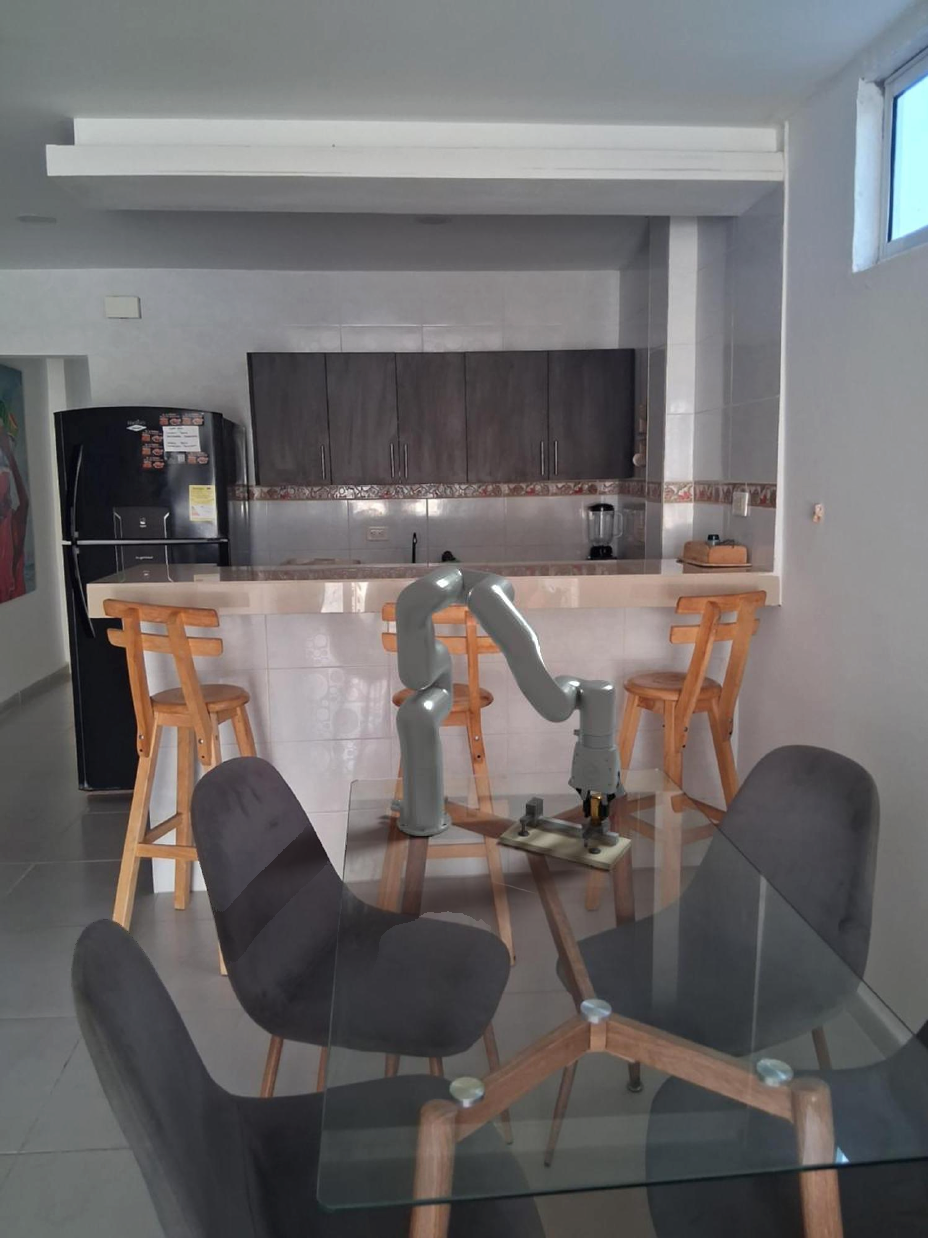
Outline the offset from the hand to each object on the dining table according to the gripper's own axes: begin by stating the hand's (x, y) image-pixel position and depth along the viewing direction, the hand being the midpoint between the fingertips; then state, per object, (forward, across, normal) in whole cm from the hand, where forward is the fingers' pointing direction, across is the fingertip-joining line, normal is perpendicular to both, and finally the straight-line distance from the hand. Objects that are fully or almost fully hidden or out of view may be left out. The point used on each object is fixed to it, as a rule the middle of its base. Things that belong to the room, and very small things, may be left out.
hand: (596, 816), depth 207 cm
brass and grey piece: (+5, 0, -2) cm, 5 cm away
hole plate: (+7, -6, -3) cm, 9 cm away
